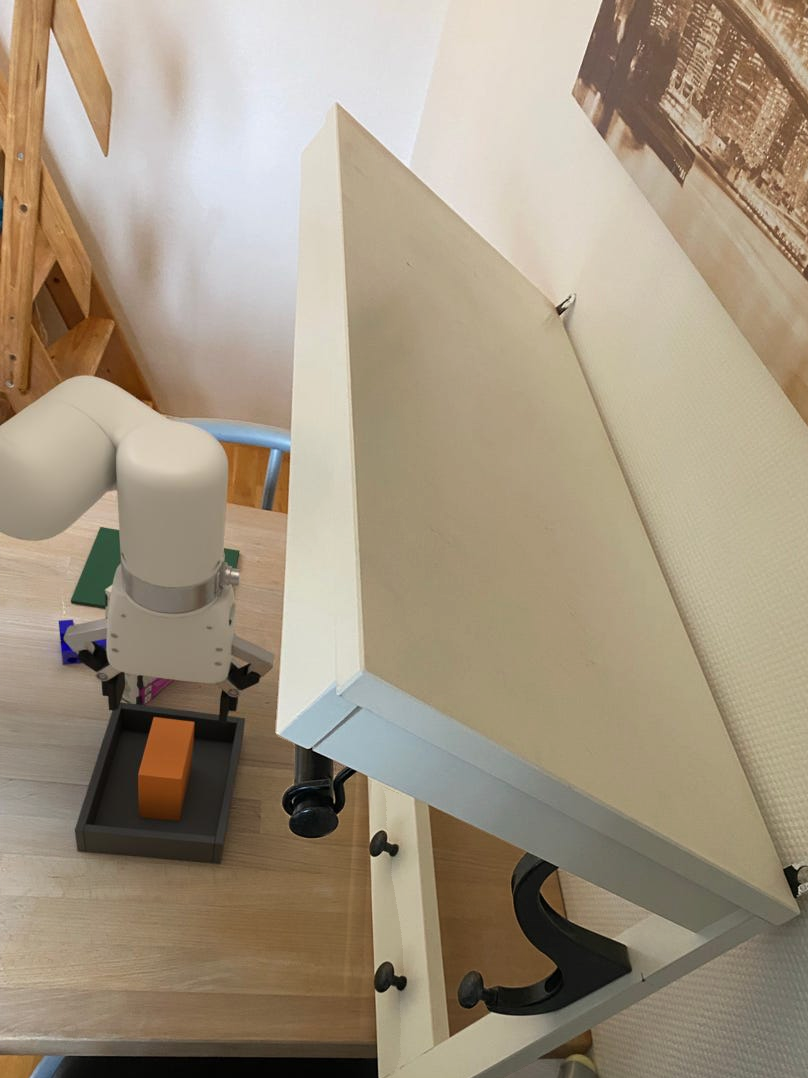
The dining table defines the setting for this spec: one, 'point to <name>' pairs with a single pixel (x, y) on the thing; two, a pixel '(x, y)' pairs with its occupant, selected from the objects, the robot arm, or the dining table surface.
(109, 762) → the bin
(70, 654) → the cable holder
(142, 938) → the dining table surface
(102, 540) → the mat
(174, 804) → the orange block
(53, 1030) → the dining table surface
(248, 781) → the dining table surface
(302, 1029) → the dining table surface
